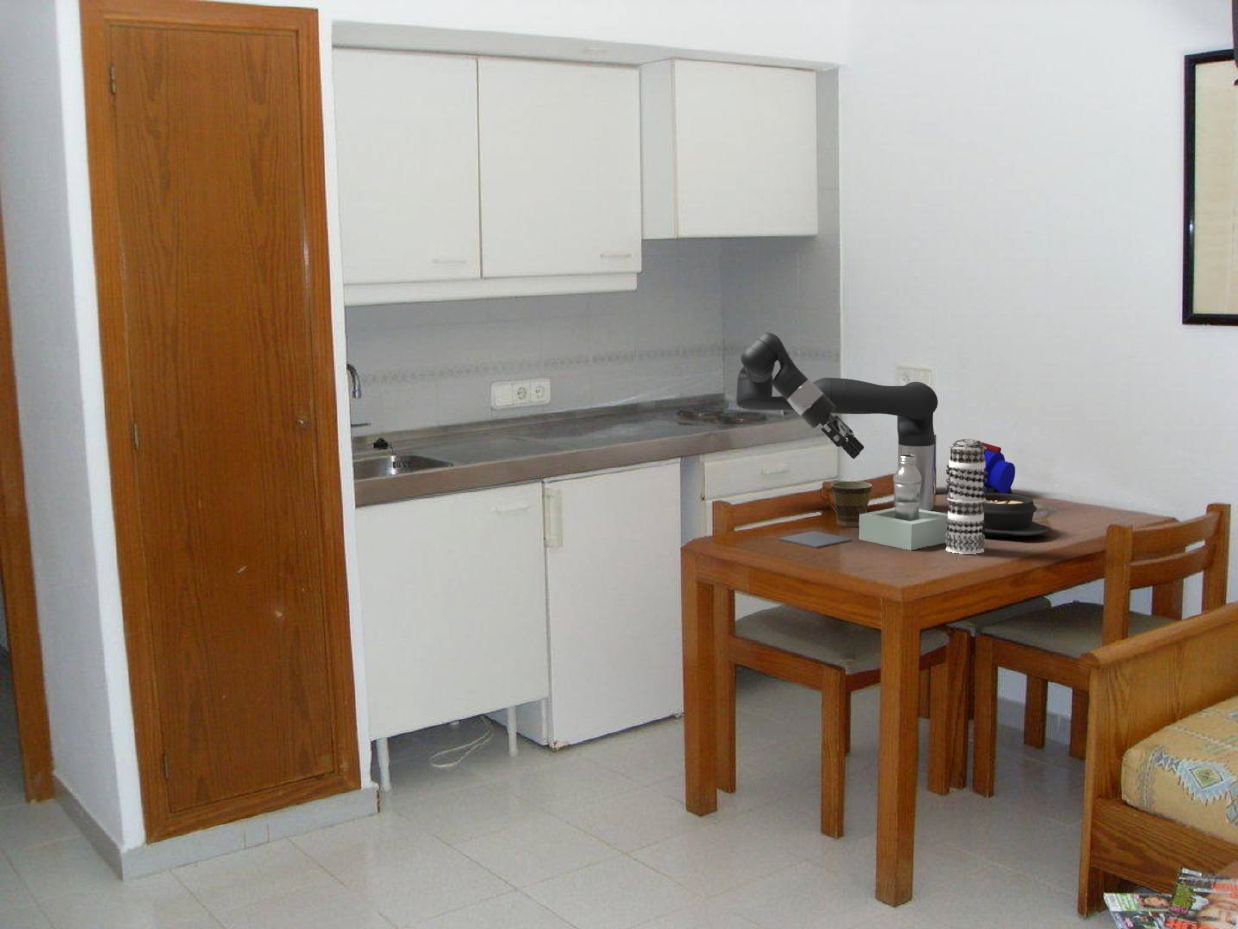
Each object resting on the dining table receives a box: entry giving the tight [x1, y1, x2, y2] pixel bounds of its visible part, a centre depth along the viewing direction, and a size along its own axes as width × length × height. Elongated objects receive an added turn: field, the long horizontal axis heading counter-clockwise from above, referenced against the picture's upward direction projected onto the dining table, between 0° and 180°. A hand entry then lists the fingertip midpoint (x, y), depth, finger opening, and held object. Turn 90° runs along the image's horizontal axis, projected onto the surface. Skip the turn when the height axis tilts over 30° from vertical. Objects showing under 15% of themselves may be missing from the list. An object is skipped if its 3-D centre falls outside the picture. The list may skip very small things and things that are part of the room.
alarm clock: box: [981, 441, 1016, 494], centre depth 357 cm, size 12×12×15 cm
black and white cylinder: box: [945, 438, 988, 555], centre depth 291 cm, size 9×9×25 cm
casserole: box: [982, 493, 1052, 538], centre depth 310 cm, size 25×19×8 cm
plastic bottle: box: [892, 455, 922, 521], centre depth 302 cm, size 6×7×20 cm
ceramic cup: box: [818, 480, 873, 528], centre depth 322 cm, size 13×10×10 cm
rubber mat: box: [778, 530, 853, 549], centre depth 305 cm, size 12×12×1 cm
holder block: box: [858, 507, 949, 551], centre depth 304 cm, size 16×16×6 cm
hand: (859, 453), depth 304 cm, fingers open, 8 cm apart
